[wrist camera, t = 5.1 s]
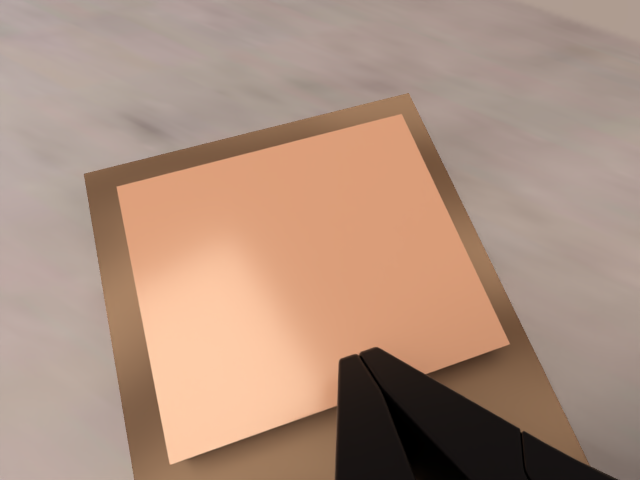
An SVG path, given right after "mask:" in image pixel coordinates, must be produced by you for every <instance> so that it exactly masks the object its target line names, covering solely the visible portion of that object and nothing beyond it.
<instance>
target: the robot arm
mask: <svg viewBox="0 0 640 480" xmlns="http://www.w3.org/2000/svg"><path fill="white" fill-rule="evenodd" d="M334 480H618V479H616V478H613V477H611V476H609V475H607V474H605V473H603V472H601V471H599V470H597V469H595V468H593V467H591V466H589V465H587V464H585V463H583V462H581V461H578V460H576V459H574V458H573V457H571V456H569V455H567V454H565V453H563V452H562V451H560V450H558V449H556V448H554V447H552V446H550V445H549V444H547V443H545V442H543V441H541V440H540V439H538V438H536V437H534V436H533V435H531V434H529V433H527V432H526V431H522V432H521V430H520V428H518V427H517V426H515V425H513V424H511V423H510V422H508V421H506V420H504V419H503V418H501V417H499V416H498V415H496V414H494V413H492V412H491V411H489V410H487V409H485V408H484V407H482V406H480V405H478V404H477V403H475V402H473V401H471V400H470V399H468V398H466V397H464V396H463V395H461V394H459V393H457V392H456V391H454V390H452V389H450V388H449V387H447V386H445V385H444V384H442V383H440V382H438V381H437V380H435V379H433V378H431V377H430V376H428V375H426V374H424V373H423V372H421V371H419V370H417V369H416V368H414V367H412V366H410V365H409V364H407V363H405V362H403V361H402V360H400V359H398V358H396V357H395V356H393V355H391V354H390V353H388V352H386V351H384V350H383V349H381V348H379V347H373V348H370V349H367V350H364V351H361V352H360V353H359V355H358V354H352V355H349V356H346V357H343V358H341V359H340V360H339V363H338V391H337V420H336V449H335V478H334Z"/></svg>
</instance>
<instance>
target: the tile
mask: <svg viewBox="0 0 640 480" xmlns="http://www.w3.org/2000/svg"><path fill="white" fill-rule="evenodd" d="M117 192H118V197H119V202H120V208H121V213H122V218H123V223H124V228H125V234H126V239H127V244H128V249H129V255H130V260H131V265H132V270H133V275H134V281H135V286H136V291H137V296H138V301H139V307H140V312H141V317H142V322H143V328H144V333H145V338H146V343H147V348H148V354H149V359H150V364H151V369H152V375H153V380H154V385H155V390H156V395H157V401H158V406H159V411H160V416H161V422H162V427H163V432H164V437H165V442H166V448H167V453H168V458H169V463H170V465H171V464H174V463H177V462H179V461H182V460H185V459H188V458H191V457H194V456H196V455H199V454H202V453H205V452H208V451H210V450H213V449H216V448H219V447H222V446H225V445H227V444H230V443H233V442H236V441H239V440H241V439H244V438H247V437H250V436H253V435H256V434H258V433H261V432H264V431H267V430H270V429H272V428H275V427H278V426H281V425H284V424H287V423H289V422H292V421H295V420H298V419H301V418H303V417H306V416H309V415H312V414H315V413H318V412H320V411H323V410H326V409H329V408H332V407H334V406H337V391H338V363H339V360H340V359H341V358H343V357H346V356H349V355H352V354H358V355H359V353H360V352H361V351H364V350H367V349H370V348H373V347H379V348H381V349H383V350H384V351H386V352H388V353H390V354H391V355H393V356H395V357H396V358H398V359H400V360H402V361H403V362H405V363H407V364H409V365H410V366H412V367H414V368H416V369H417V370H419V371H421V372H423V373H424V374H427V373H430V372H433V371H436V370H439V369H442V368H444V367H447V366H450V365H453V364H456V363H458V362H461V361H464V360H467V359H470V358H473V357H475V356H478V355H481V354H484V353H487V352H489V351H492V350H495V349H498V348H501V347H504V346H506V345H509V344H510V343H509V341H508V339H507V336H506V334H505V332H504V330H503V328H502V326H501V324H500V322H499V319H498V317H497V315H496V313H495V311H494V309H493V307H492V305H491V302H490V300H489V298H488V296H487V294H486V292H485V290H484V288H483V285H482V283H481V281H480V279H479V277H478V275H477V273H476V271H475V268H474V266H473V264H472V262H471V260H470V258H469V256H468V254H467V251H466V249H465V247H464V245H463V243H462V241H461V239H460V237H459V234H458V232H457V230H456V228H455V226H454V224H453V222H452V220H451V217H450V215H449V213H448V211H447V209H446V207H445V205H444V203H443V201H442V198H441V196H440V194H439V192H438V190H437V188H436V186H435V184H434V181H433V179H432V177H431V175H430V173H429V171H428V169H427V167H426V164H425V162H424V160H423V158H422V156H421V154H420V152H419V150H418V147H417V145H416V143H415V141H414V139H413V137H412V135H411V133H410V130H409V128H408V126H407V124H406V122H405V120H404V118H403V116H402V114H399V115H395V116H391V117H387V118H383V119H379V120H376V121H372V122H368V123H364V124H360V125H356V126H352V127H348V128H344V129H340V130H336V131H333V132H329V133H325V134H321V135H317V136H313V137H309V138H305V139H301V140H297V141H293V142H290V143H286V144H282V145H278V146H274V147H270V148H266V149H262V150H258V151H254V152H250V153H246V154H243V155H239V156H235V157H231V158H227V159H223V160H219V161H215V162H211V163H207V164H203V165H200V166H196V167H192V168H188V169H184V170H180V171H176V172H172V173H168V174H164V175H160V176H156V177H153V178H149V179H145V180H141V181H137V182H133V183H129V184H125V185H121V186H117Z"/></svg>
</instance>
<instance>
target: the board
mask: <svg viewBox="0 0 640 480" xmlns="http://www.w3.org/2000/svg"><path fill="white" fill-rule="evenodd" d="M399 114H402V116H403V118H404V120H405V122H406V124H407V126H408V128H409V130H410V133H411V135H412V137H413V139H414V141H415V143H416V145H417V147H418V150H419V152H420V154H421V156H422V158H423V160H424V162H425V164H426V167H427V169H428V171H429V173H430V175H431V177H432V179H433V181H434V184H435V186H436V188H437V190H438V192H439V194H440V196H441V198H442V201H443V203H444V205H445V207H446V209H447V211H448V213H449V215H450V217H451V220H452V222H453V224H454V226H455V228H456V230H457V232H458V234H459V237H460V239H461V241H462V243H463V245H464V247H465V249H466V251H467V254H468V256H469V258H470V260H471V262H472V264H473V266H474V268H475V271H476V273H477V275H478V277H479V279H480V281H481V283H482V285H483V288H484V290H485V292H486V294H487V296H488V298H489V300H490V302H491V305H492V307H493V309H494V311H495V313H496V315H497V317H498V319H499V322H500V324H501V326H502V328H503V330H504V332H505V334H506V336H507V339H508V341H509V343H510V344H509V345H506V346H504V347H501V348H498V349H495V350H492V351H489V352H487V353H484V354H481V355H478V356H475V357H473V358H470V359H467V360H464V361H461V362H458V363H456V364H453V365H450V366H447V367H444V368H442V369H439V370H436V371H433V372H430V373H427V374H426V375H428V376H430V377H431V378H433V379H435V380H437V381H438V382H440V383H442V384H444V385H445V386H447V387H449V388H450V389H452V390H454V391H456V392H457V393H459V394H461V395H463V396H464V397H466V398H468V399H470V400H471V401H473V402H475V403H477V404H478V405H480V406H482V407H484V408H485V409H487V410H489V411H491V412H492V413H494V414H496V415H498V416H499V417H501V418H503V419H504V420H506V421H508V422H510V423H511V424H513V425H515V426H517V427H518V428H520V430H521V432H522V431H526V432H527V433H529V434H531V435H533V436H534V437H536V438H538V439H540V440H541V441H543V442H545V443H547V444H549V445H550V446H552V447H554V448H556V449H558V450H560V451H562V452H563V453H565V454H567V455H569V456H571V457H573V458H574V459H576V460H578V461H581V462H583V463H585V464H587V465H589V463H588V461H587V459H586V457H585V454H584V452H583V450H582V448H581V446H580V444H579V442H578V440H577V438H576V436H575V434H574V432H573V430H572V428H571V426H570V424H569V422H568V420H567V417H566V415H565V413H564V411H563V409H562V407H561V405H560V403H559V401H558V399H557V397H556V395H555V393H554V391H553V389H552V387H551V385H550V383H549V381H548V378H547V376H546V374H545V372H544V370H543V368H542V366H541V364H540V362H539V360H538V358H537V356H536V354H535V352H534V350H533V348H532V346H531V344H530V341H529V339H528V337H527V335H526V333H525V331H524V329H523V327H522V325H521V323H520V321H519V319H518V317H517V315H516V313H515V311H514V309H513V307H512V304H511V302H510V300H509V298H508V296H507V294H506V292H505V290H504V288H503V286H502V284H501V282H500V280H499V278H498V276H497V274H496V272H495V270H494V267H493V265H492V263H491V261H490V259H489V257H488V255H487V253H486V251H485V249H484V247H483V245H482V243H481V241H480V239H479V237H478V235H477V233H476V230H475V228H474V226H473V224H472V222H471V220H470V218H469V216H468V214H467V212H466V210H465V208H464V206H463V204H462V202H461V200H460V198H459V196H458V194H457V191H456V189H455V187H454V185H453V183H452V181H451V179H450V177H449V175H448V173H447V171H446V169H445V167H444V165H443V163H442V161H441V159H440V157H439V154H438V152H437V150H436V148H435V146H434V144H433V142H432V140H431V138H430V136H429V134H428V132H427V130H426V128H425V126H424V124H423V122H422V120H421V117H420V115H419V113H418V111H417V109H416V107H415V105H414V103H413V101H412V99H411V97H410V95H409V93H407V94H403V95H399V96H395V97H391V98H387V99H383V100H379V101H375V102H371V103H367V104H363V105H359V106H355V107H351V108H347V109H343V110H339V111H335V112H331V113H327V114H323V115H319V116H315V117H311V118H307V119H303V120H299V121H295V122H291V123H287V124H283V125H279V126H275V127H271V128H267V129H263V130H259V131H255V132H251V133H246V134H242V135H238V136H234V137H230V138H226V139H222V140H218V141H214V142H210V143H206V144H202V145H198V146H194V147H190V148H186V149H182V150H178V151H174V152H170V153H166V154H162V155H158V156H154V157H150V158H146V159H142V160H138V161H134V162H130V163H126V164H122V165H118V166H114V167H110V168H106V169H102V170H98V171H94V172H90V173H86V174H84V177H85V184H86V190H87V196H88V202H89V208H90V214H91V220H92V226H93V232H94V238H95V244H96V250H97V256H98V262H99V268H100V274H101V280H102V287H103V293H104V299H105V305H106V311H107V317H108V323H109V329H110V335H111V341H112V347H113V353H114V359H115V365H116V371H117V377H118V383H119V390H120V396H121V402H122V408H123V414H124V420H125V426H126V432H127V438H128V444H129V450H130V456H131V462H132V468H133V474H134V480H334V478H335V449H336V420H337V406H334V407H332V408H329V409H326V410H323V411H320V412H318V413H315V414H312V415H309V416H306V417H303V418H301V419H298V420H295V421H292V422H289V423H287V424H284V425H281V426H278V427H275V428H272V429H270V430H267V431H264V432H261V433H258V434H256V435H253V436H250V437H247V438H244V439H241V440H239V441H236V442H233V443H230V444H227V445H225V446H222V447H219V448H216V449H213V450H210V451H208V452H205V453H202V454H199V455H196V456H194V457H191V458H188V459H185V460H182V461H179V462H177V463H174V464H171V465H170V463H169V458H168V453H167V448H166V442H165V437H164V432H163V427H162V422H161V416H160V411H159V406H158V401H157V395H156V390H155V385H154V380H153V375H152V369H151V364H150V359H149V354H148V348H147V343H146V338H145V333H144V328H143V322H142V317H141V312H140V307H139V301H138V296H137V291H136V286H135V281H134V275H133V270H132V265H131V260H130V255H129V249H128V244H127V239H126V234H125V228H124V223H123V218H122V213H121V208H120V202H119V197H118V192H117V186H121V185H125V184H129V183H133V182H137V181H141V180H145V179H149V178H153V177H156V176H160V175H164V174H168V173H172V172H176V171H180V170H184V169H188V168H192V167H196V166H200V165H203V164H207V163H211V162H215V161H219V160H223V159H227V158H231V157H235V156H239V155H243V154H246V153H250V152H254V151H258V150H262V149H266V148H270V147H274V146H278V145H282V144H286V143H290V142H293V141H297V140H301V139H305V138H309V137H313V136H317V135H321V134H325V133H329V132H333V131H336V130H340V129H344V128H348V127H352V126H356V125H360V124H364V123H368V122H372V121H376V120H379V119H383V118H387V117H391V116H395V115H399ZM589 466H590V465H589Z"/></svg>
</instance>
